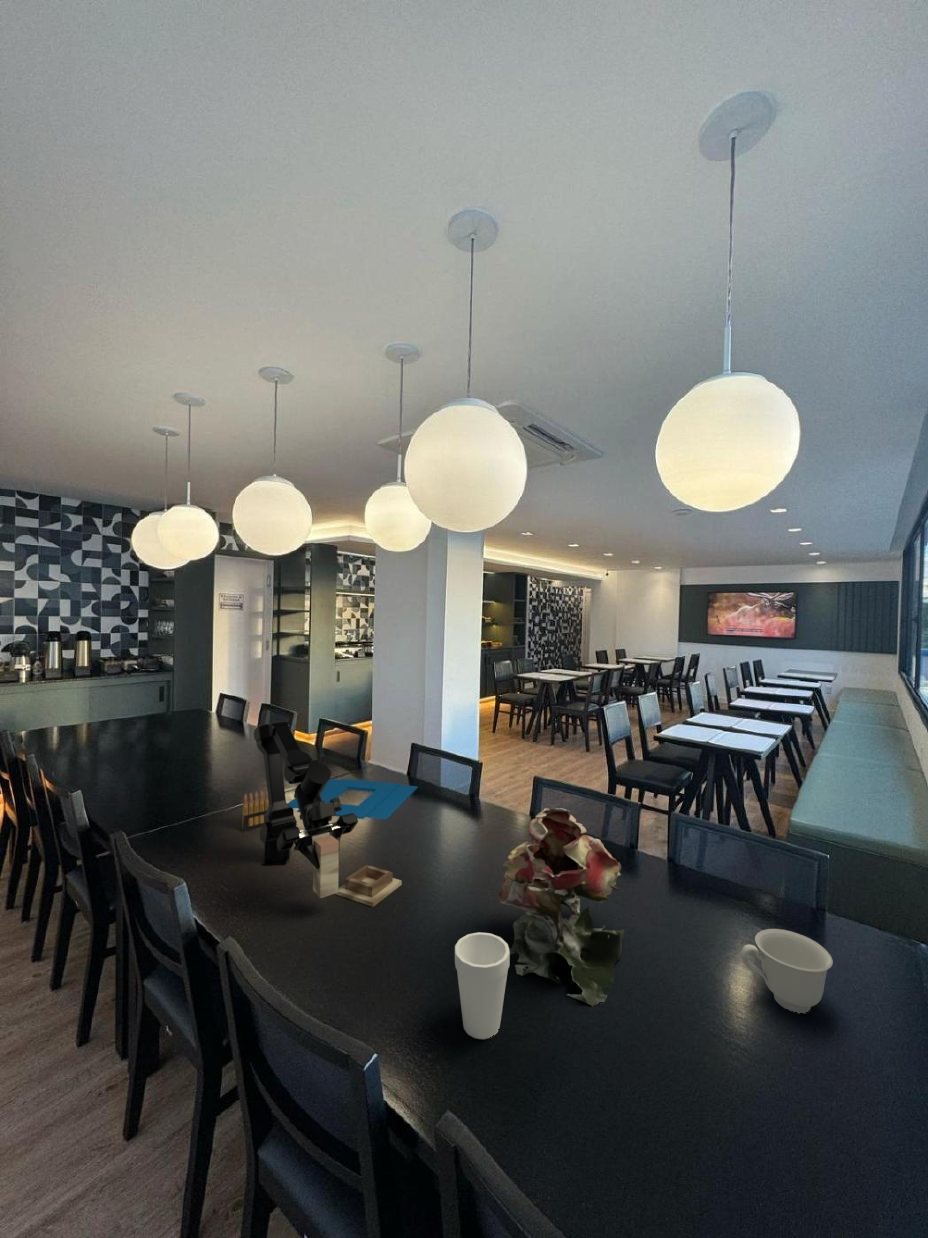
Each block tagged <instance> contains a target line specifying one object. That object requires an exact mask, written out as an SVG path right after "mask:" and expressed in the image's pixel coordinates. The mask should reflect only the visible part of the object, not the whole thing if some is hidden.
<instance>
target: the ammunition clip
mask: <svg viewBox="0 0 928 1238" xmlns="http://www.w3.org/2000/svg"><path fill="white" fill-rule="evenodd" d="M248 796H249V797H248ZM248 796H247V794H246V793H244V795H243V801H242V811H241V812H242V815H241V826H240V827H241V828H240V829H241V831H242V832H247V831H251V830H254V829H259V828H260V829H261V827H262V825H263V823H264V816H265V813H266V811H267V809H268V807H269V802H268V792H267V788H266V790H265V792H263V790H262V789H261V790H260V791H259V794H258V791H257V790H256V791H255V792H254V798H253V793H252V792H250V793H249V795H248Z"/></svg>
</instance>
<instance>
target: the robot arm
mask: <svg viewBox="0 0 928 1238" xmlns="http://www.w3.org/2000/svg"><path fill="white" fill-rule="evenodd" d="M290 725H291V724H290V722H289V721H286V720H281V721H273V722H270V723H262V724H258V725H257V727H256V728H254V731H253V739H254V741H255V742H256V743H255V744H256V748H257V749H258V750H259V751H260V753H261V754H262V755H263V760H264V762H263V763H264V770H265V771H264V773H265V780H266V789H267V792H268V802H269V807H268V809H267V811H266V813H265V816H264V823H263V825H262V827H260V830H259V831H258V832H259V833H258V834H259V840H260V841H261V843H262V844H264V854H263V855H264V859H263V861H262V866H271V865H272V866H273V865H275V866H277V865H279V866H280V865H286V864H288V861H289V860H290V858H291V856H292V847H293V846H294V848H293V850H294V852H295V851H298V852H299V853H301V855H303V856H304V857H305V858H306V859H307V860H308V861H309V862H310V863H311V865H312V866H313V865H314V866H315V868H316V869H319V868H320V865H319V860H318V857H317V854H316V852H315V849H314V846H313V842H314V839H313V837H316V836H320V835H324V834H328V833H329V835H332V836H333V837H334V838H335V839H337V840H338V841H339V851H340V849H341V846H340V845H341V839H342V838H341V837H342V835H345V834H349V833H351V832H353V830H354V829H355V827H356V826H357V824H358V823H359V820H358V819H359V818H357V816H356V815H355V814H353V813H350V814H346V815H342V816H338V819H337V820H336V821H335V822H331V821H332V819H333V817H337V816H336V812H338V811H341V810H342V806H341V804H342V802H341V799H340V796H338V797H337V798H333V799H331V800H330V803H327V804H326V803H325V801H322V799H321V795H320V793H321V792H322V791H323V789H324V788H325V786H326V784H327V783H328V781H329V779H331V776H332V771H331V769H330V768H329V767H328V766H327V765H326V764H325V763H324V764H323V763H320V759H314V758H312V756H311V755H310V754H309V753H307V752H306V751H305V752H304V751H303V750H302V749H301V748H300V746H299V743H298V742H297V740H296V738H295V736H294V734H293V732H292V730H291V727H290ZM282 759H283V760H284V763H285V764H284V769H283V765H282ZM284 781H287V783H288V784H289V785H295V784H298V785H296V787H295V789H294V794H293V798H294V799H295V798H296V799H297V803H298V807H299V808H298V810H300V812H299V813H300V814H299V815H298V817H299V820H300V821H302V825H303V828H304V829H302V830H301V829H300V828H299V827H298V826H297V825H298V824H297V823H298V820H296V816H295V814H294V811H295V810H294V808H292V807H290V806H289V805H288V804H287V803H288V802H287V800H286V790H285V782H284ZM330 822H331V823H330Z"/></svg>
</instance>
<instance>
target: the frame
mask: <svg viewBox="0 0 928 1238" xmlns="http://www.w3.org/2000/svg"><path fill="white" fill-rule="evenodd" d="M418 788H419V786H415V785H405V784H400V783H396V782H395V783H393V782H383V781H372V780H370V781H369V780H359V779H348V778H341V779H339V778H337V779H335V778H330V779H329V781H328V783H327V784H326V786H325V788H324V789H323V791H322V792H321V793H320V795H321V799H322V801H325V803H326V804H327V803H330V800H331V799H333V798H338V797H340V796H341V795H343V794H344V793H345V792H347V791H348V790H354V791H363V792H372V793H371V794H370V795H368V796H367V797H366V798H365V799H363V801H362V802H360V804H358V805H355V804H347V803H346V804H344V803H341V806H342V810H341V811H338V812H336V816H335V817H340V816H342V815H346V814H350V813H353V814H355V815H356V816H357V819H359V820H360V819H361V820H364V819H365V818H372V819H381V820H387V819H388V818H390V816H392V815H393V814H394V813H395V811H397V809H399V807H400V806H401V805H402V804H403V803H405V801H406V800H408V798H410V796H412V795H413V793H414V792H415V791H416V790H417V789H418ZM286 803H287V804H288V805H289V806H290V807H292V808H293V809H297V810H296V812H297V813H300V810H299V807H298V803H297V799H296V798H294V799H292V800H290V801H288V802H286Z"/></svg>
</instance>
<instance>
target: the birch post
mask: <svg viewBox="0 0 928 1238" xmlns="http://www.w3.org/2000/svg"><path fill="white" fill-rule="evenodd" d="M313 846H314V849H315V852H316V854H317V857H318V860H319V865H320V868H319V869H316V868H315V866H314V865H313V864H312V866H313V867H312V872H313V873H312V891H313V892H314V893H315V894H316V895H317V896H318V898H319V899H323V898H326V897H329V896H331V895H336V894H335V893H337V892H338V888H339V872H340V871H339V870H340V869H339V864H340V850H339V841H338V840H337V839H335V838H334V837H333V836H332V835H330V834H329V835H326V836H322V837H319V838H314V839H313Z"/></svg>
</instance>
